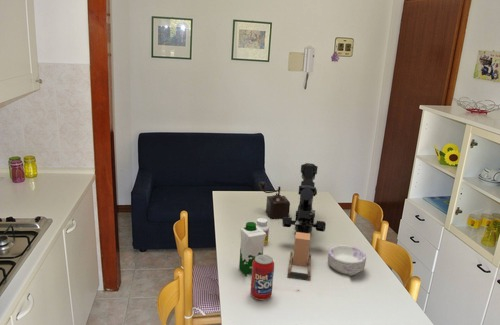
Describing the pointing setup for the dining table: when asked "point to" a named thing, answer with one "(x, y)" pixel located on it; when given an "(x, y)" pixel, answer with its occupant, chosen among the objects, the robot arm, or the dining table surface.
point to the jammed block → (301, 249)
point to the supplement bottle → (263, 228)
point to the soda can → (262, 277)
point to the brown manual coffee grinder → (276, 204)
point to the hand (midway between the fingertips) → (301, 242)
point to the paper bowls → (346, 259)
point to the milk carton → (250, 246)
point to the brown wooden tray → (296, 274)
